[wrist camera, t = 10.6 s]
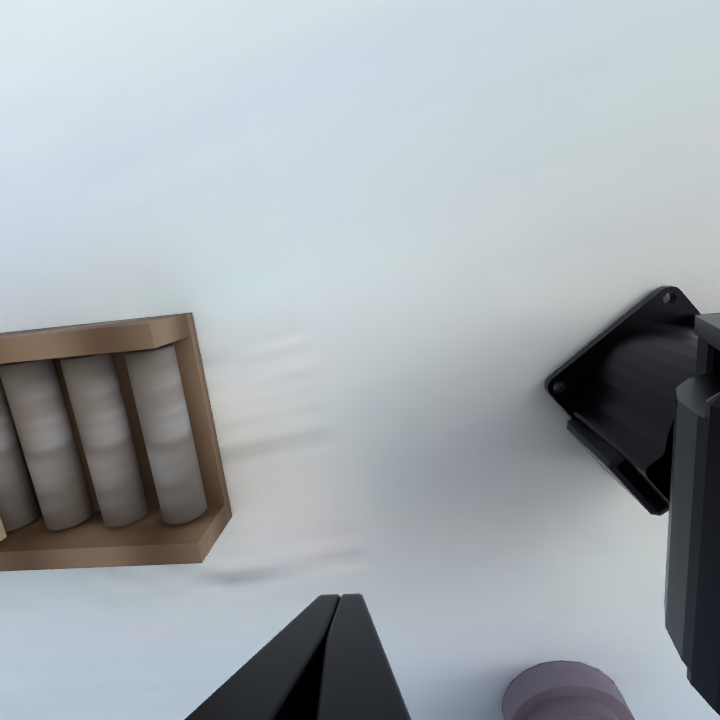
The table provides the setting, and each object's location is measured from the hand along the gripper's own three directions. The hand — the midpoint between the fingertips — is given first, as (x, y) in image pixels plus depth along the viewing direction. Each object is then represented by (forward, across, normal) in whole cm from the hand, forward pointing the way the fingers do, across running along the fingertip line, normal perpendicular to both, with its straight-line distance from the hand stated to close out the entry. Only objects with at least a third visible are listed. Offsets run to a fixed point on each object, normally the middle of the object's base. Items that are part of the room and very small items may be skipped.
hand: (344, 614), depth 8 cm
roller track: (+12, -17, 0) cm, 21 cm away
